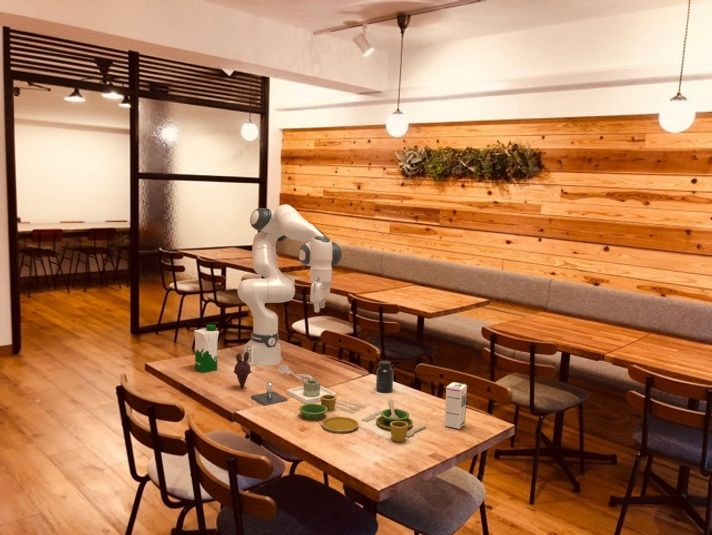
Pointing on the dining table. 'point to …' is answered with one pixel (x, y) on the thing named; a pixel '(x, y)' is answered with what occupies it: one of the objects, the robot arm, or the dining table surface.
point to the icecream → (242, 368)
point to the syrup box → (455, 405)
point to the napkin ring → (311, 388)
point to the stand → (269, 397)
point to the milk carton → (206, 349)
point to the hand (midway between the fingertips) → (319, 309)
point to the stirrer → (287, 370)
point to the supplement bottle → (384, 377)
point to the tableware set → (388, 419)
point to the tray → (300, 396)
